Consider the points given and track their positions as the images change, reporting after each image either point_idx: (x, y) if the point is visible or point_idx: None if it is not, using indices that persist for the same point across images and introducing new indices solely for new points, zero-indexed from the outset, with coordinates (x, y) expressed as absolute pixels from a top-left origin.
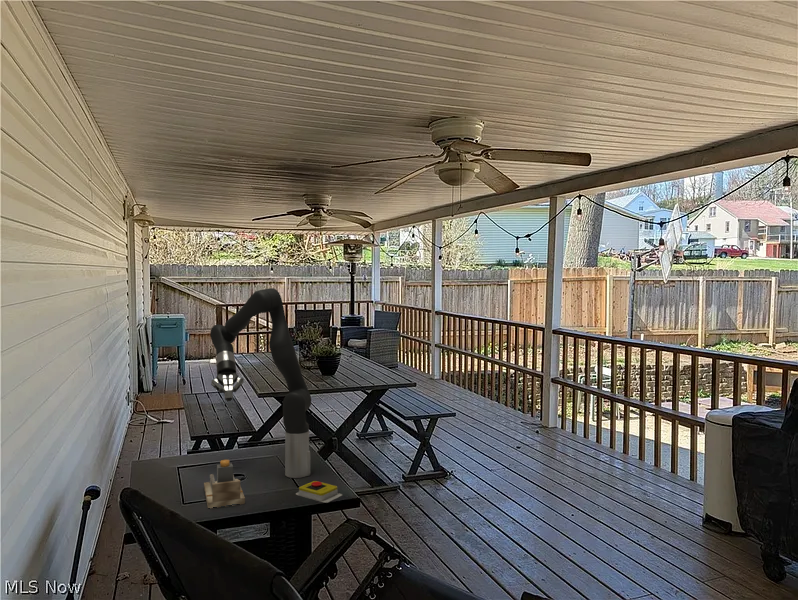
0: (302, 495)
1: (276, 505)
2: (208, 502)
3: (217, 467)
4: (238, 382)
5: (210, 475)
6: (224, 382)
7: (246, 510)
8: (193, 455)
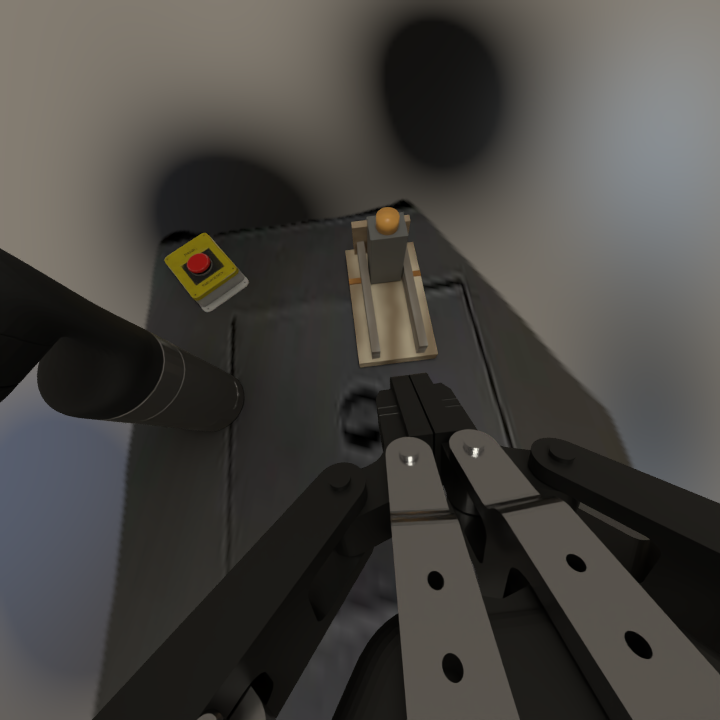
0: (238, 269)
1: (292, 241)
2: (412, 243)
3: (405, 224)
4: (253, 614)
5: (425, 336)
6: (593, 554)
7: (344, 231)
8: None
